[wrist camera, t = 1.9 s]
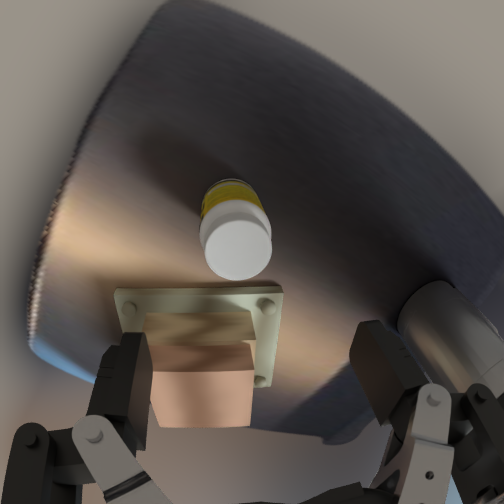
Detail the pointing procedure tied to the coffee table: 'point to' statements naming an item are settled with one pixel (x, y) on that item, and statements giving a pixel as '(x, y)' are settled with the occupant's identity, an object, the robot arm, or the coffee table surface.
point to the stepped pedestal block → (205, 349)
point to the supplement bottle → (234, 230)
